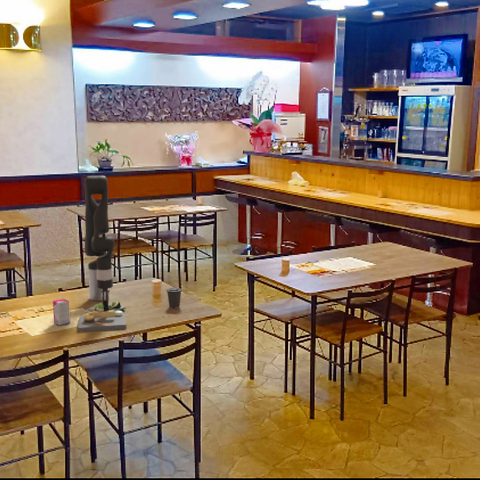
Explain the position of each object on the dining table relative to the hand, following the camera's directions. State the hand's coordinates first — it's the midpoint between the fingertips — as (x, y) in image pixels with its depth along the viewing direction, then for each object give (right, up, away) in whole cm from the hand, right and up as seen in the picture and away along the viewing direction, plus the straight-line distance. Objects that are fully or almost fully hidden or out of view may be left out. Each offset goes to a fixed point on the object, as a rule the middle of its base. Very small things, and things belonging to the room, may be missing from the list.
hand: (106, 311), depth 301 cm
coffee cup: (+31, 0, +22) cm, 38 cm away
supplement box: (-20, -5, -4) cm, 21 cm away
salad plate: (-3, -2, +15) cm, 16 cm away
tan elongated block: (-2, -3, -6) cm, 7 cm away
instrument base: (-1, -5, -5) cm, 7 cm away
